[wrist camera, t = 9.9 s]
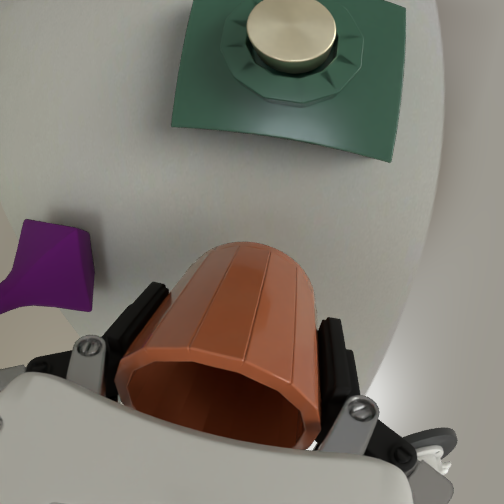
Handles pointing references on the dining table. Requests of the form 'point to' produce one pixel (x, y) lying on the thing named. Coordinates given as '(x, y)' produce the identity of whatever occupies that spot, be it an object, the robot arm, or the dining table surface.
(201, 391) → the cup
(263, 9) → the metal button cap
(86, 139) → the dining table surface
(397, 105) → the push button base
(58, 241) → the perfume bottle
